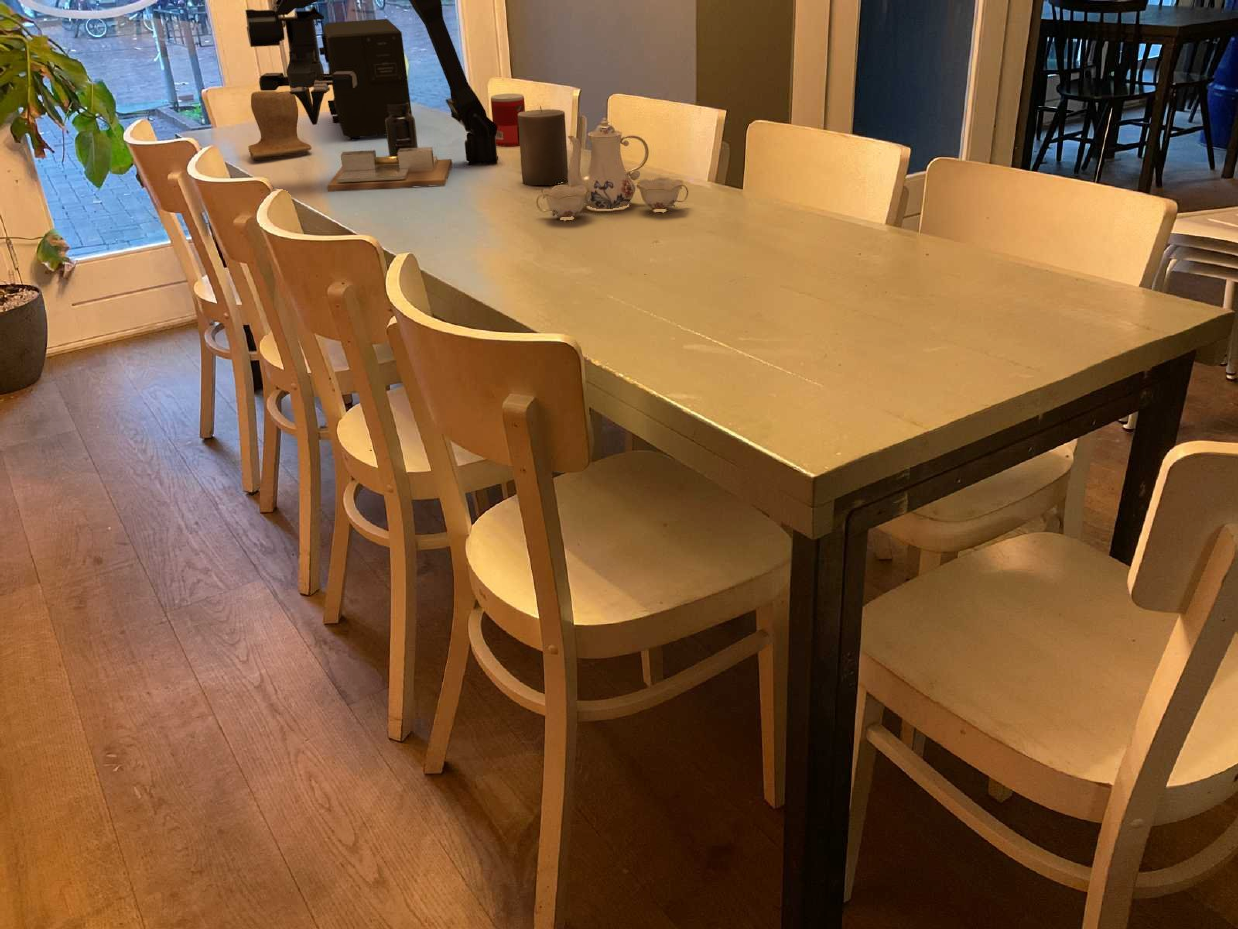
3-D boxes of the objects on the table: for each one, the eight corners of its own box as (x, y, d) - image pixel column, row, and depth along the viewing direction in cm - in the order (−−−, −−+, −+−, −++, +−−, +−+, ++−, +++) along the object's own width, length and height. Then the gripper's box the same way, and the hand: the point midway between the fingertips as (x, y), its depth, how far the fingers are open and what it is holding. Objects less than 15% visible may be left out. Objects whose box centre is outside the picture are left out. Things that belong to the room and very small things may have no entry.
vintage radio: (330, 118, 287) (314, 22, 275) (399, 112, 291) (387, 17, 279) (336, 143, 255) (319, 35, 243) (415, 136, 260) (401, 30, 248)
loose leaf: (411, 167, 221) (409, 148, 219) (405, 179, 211) (402, 159, 209) (346, 170, 220) (343, 151, 218) (337, 182, 211) (334, 162, 209)
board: (452, 164, 229) (451, 158, 228) (444, 185, 212) (443, 179, 211) (344, 169, 228) (343, 164, 227) (328, 191, 211) (327, 185, 210)
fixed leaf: (437, 160, 227) (435, 140, 225) (433, 171, 218) (430, 150, 216) (374, 163, 227) (371, 143, 225) (367, 174, 217) (364, 153, 215)
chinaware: (547, 238, 181) (542, 144, 172) (527, 206, 195) (522, 117, 185) (695, 221, 188) (698, 130, 178) (666, 191, 201) (668, 105, 192)
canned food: (525, 146, 244) (522, 98, 239) (492, 147, 244) (488, 99, 239) (528, 139, 251) (525, 92, 246) (496, 140, 251) (492, 93, 246)
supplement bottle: (403, 161, 234) (396, 106, 228) (383, 157, 238) (375, 104, 232) (425, 155, 239) (418, 101, 233) (405, 152, 242) (398, 99, 237)
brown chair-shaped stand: (300, 147, 252) (289, 83, 245) (317, 154, 243) (306, 88, 236) (239, 156, 245) (225, 90, 237) (254, 164, 236) (241, 96, 229)
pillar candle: (562, 186, 207) (558, 109, 200) (516, 185, 209) (510, 109, 202) (573, 176, 216) (570, 102, 209) (529, 175, 217) (524, 101, 210)
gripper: (246, 49, 198) (260, 132, 206) (343, 47, 199) (353, 130, 207) (259, 43, 208) (273, 122, 215) (352, 41, 209) (362, 120, 217)
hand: (314, 124), depth 213 cm, fingers closed
